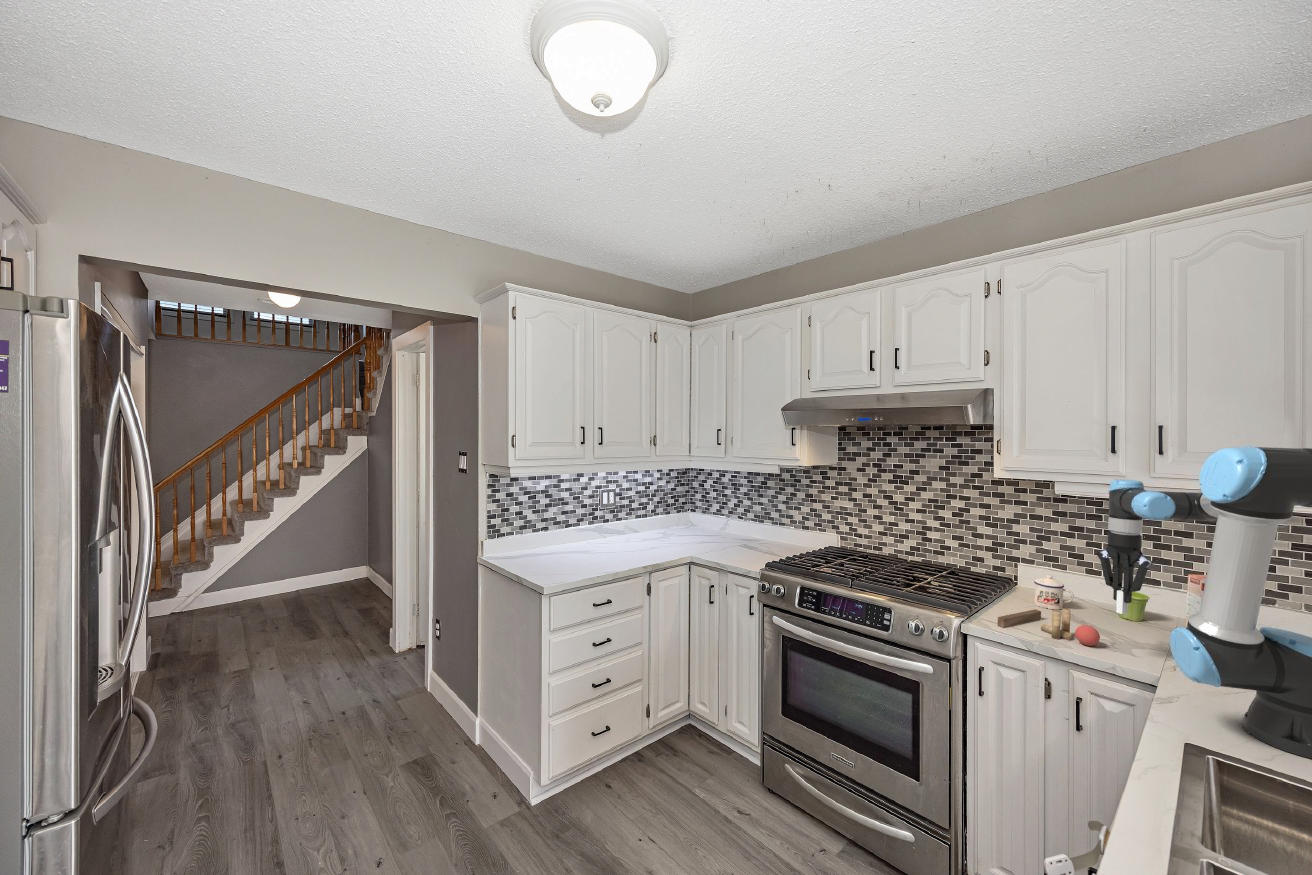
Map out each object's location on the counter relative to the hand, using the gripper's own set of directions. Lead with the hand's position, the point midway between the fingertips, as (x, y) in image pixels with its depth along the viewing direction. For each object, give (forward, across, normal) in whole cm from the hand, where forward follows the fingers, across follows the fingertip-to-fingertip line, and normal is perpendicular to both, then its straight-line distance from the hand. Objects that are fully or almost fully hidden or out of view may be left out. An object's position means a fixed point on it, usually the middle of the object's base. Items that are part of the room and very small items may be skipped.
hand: (1121, 612), depth 158 cm
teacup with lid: (+13, +35, -29) cm, 47 cm away
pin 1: (+13, +16, +2) cm, 21 cm away
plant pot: (+13, +17, -42) cm, 47 cm away
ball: (+10, +9, -1) cm, 14 cm away
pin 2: (+13, +16, -3) cm, 21 cm away
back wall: (+13, +29, 0) cm, 32 cm away
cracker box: (+13, -6, -42) cm, 44 cm away
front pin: (+12, +13, 0) cm, 18 cm away
